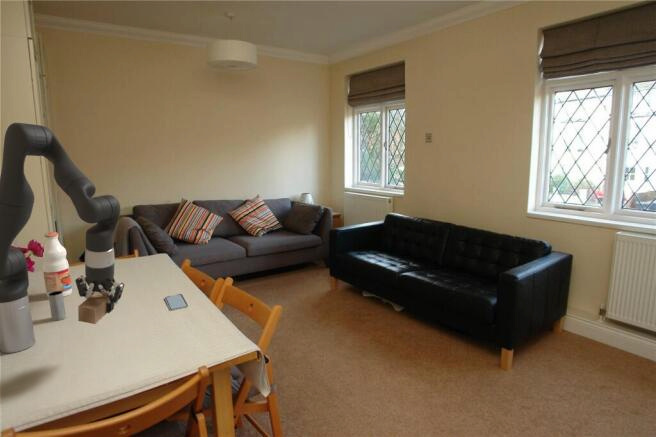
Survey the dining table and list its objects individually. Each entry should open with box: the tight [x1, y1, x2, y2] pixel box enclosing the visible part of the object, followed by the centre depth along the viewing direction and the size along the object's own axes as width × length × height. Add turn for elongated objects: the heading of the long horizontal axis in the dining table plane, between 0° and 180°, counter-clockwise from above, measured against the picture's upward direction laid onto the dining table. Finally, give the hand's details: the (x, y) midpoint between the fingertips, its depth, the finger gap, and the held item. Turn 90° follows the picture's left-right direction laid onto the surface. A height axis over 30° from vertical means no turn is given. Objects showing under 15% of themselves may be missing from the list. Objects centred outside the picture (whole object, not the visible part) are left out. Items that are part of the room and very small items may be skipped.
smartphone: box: [164, 293, 189, 312], centre depth 168 cm, size 7×1×15 cm
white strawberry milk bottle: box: [41, 231, 73, 299], centre depth 174 cm, size 9×9×28 cm
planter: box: [48, 291, 67, 322], centre depth 152 cm, size 4×4×10 cm
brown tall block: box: [77, 287, 119, 325], centre depth 121 cm, size 5×5×12 cm
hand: (100, 309), depth 123 cm, fingers closed on brown tall block, 5 cm apart
